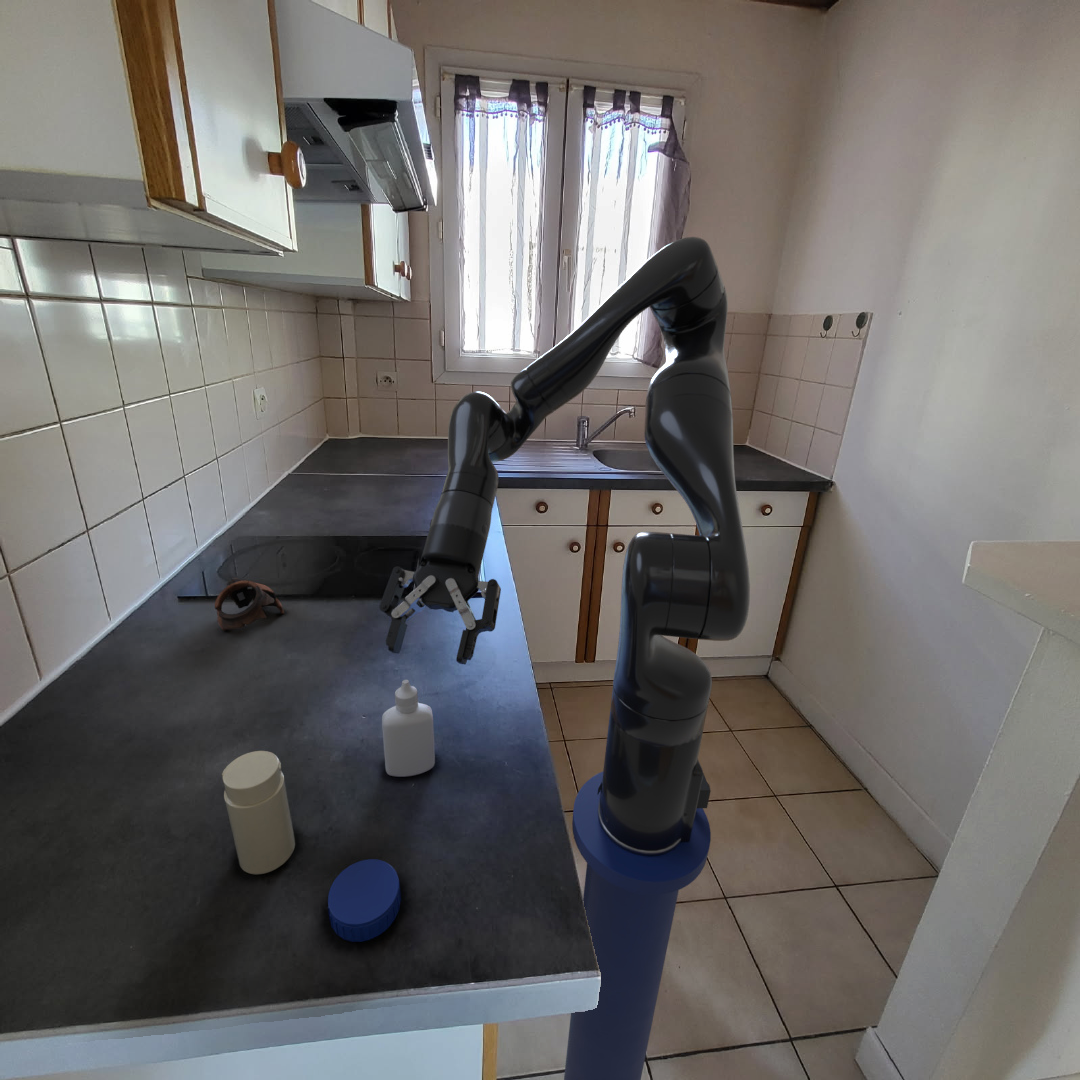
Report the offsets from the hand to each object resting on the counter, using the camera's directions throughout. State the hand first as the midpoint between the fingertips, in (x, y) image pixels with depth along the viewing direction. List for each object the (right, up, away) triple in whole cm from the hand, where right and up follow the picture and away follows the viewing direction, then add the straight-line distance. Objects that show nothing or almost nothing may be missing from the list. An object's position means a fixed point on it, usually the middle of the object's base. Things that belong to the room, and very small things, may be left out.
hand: (426, 657), depth 66 cm
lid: (-2, -17, -17) cm, 24 cm away
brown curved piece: (-35, 0, +28) cm, 45 cm away
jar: (-13, -17, -12) cm, 24 cm away
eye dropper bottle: (-2, -13, -1) cm, 13 cm away
